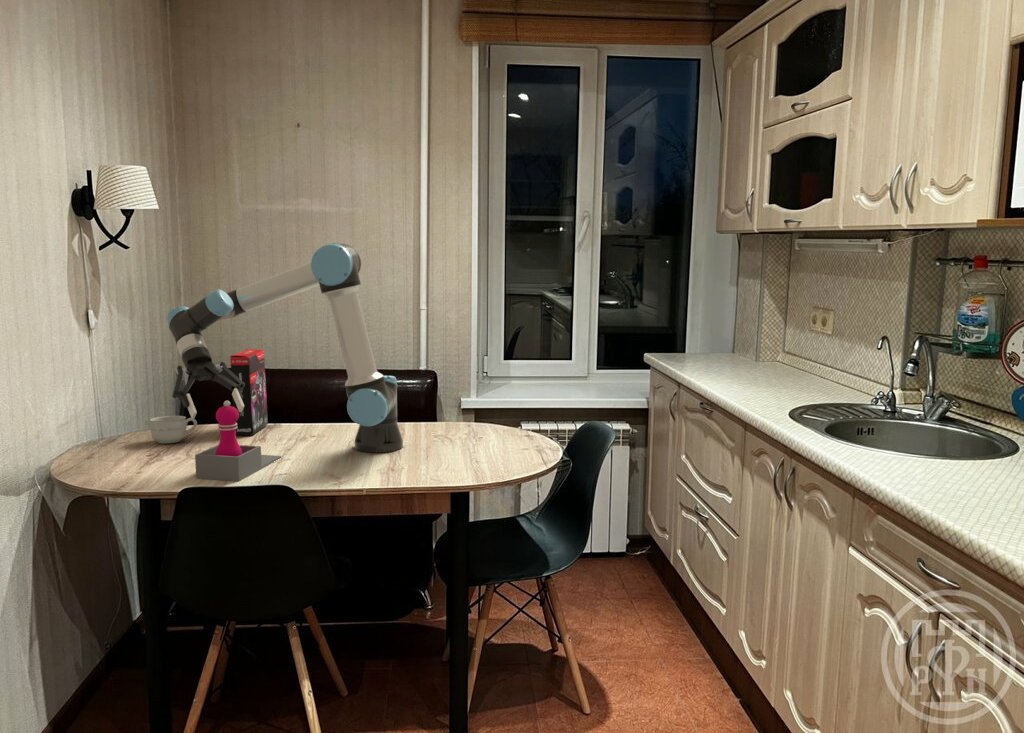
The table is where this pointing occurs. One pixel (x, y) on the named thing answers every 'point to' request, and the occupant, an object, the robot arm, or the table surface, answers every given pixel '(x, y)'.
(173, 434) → the teacup
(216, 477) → the box
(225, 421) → the pepper mill
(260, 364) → the graphics card box
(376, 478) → the table surface
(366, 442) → the robot arm
